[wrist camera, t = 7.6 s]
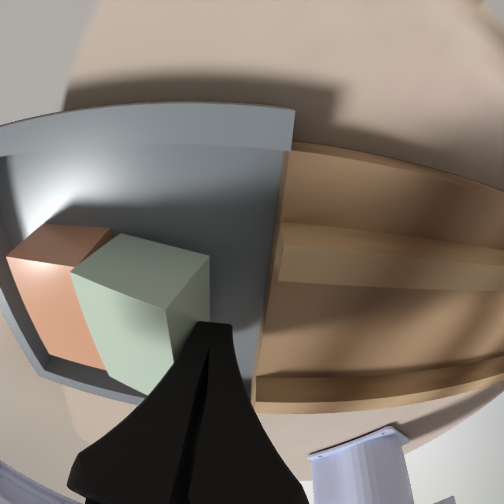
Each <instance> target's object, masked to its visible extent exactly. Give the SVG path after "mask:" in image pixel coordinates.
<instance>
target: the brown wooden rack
mask: <svg viewBox="0 0 504 504" xmlns="http://www.w3.org/2000/svg"><path fill="white" fill-rule="evenodd" d="M501 381H504V192H503V191H500V190H498V189H495V188H492V187H490V186H487V185H484V184H481V183H478V182H475V181H472V180H469V179H466V178H463V177H460V176H457V175H454V174H450V173H447V172H443V171H440V170H437V169H433V168H429V167H426V166H422V165H418V164H414V163H410V162H406V161H402V160H398V159H394V158H389V157H385V156H380V155H376V154H371V153H366V152H361V151H355V150H350V149H344V148H339V147H333V146H326V145H320V144H313V143H306V142H299V141H292V144H291V152H290V151H283V160H282V168H281V176H280V184H279V192H278V200H277V208H276V215H275V223H274V231H273V238H272V245H271V253H270V260H269V267H268V274H267V282H266V289H265V296H264V303H263V309H262V316H261V323H260V330H259V336H258V343H257V350H256V356H255V363H254V369H253V375H252V382H251V400H250V401H251V404H252V406H253V408H254V410H255V413H266V414H317V413H337V412H351V411H362V410H372V409H381V408H388V407H395V406H402V405H408V404H414V403H420V402H425V401H430V400H435V399H440V398H444V397H448V396H453V395H457V394H461V393H465V392H468V391H472V390H476V389H479V388H482V387H486V386H489V385H492V384H495V383H498V382H501Z"/></svg>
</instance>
